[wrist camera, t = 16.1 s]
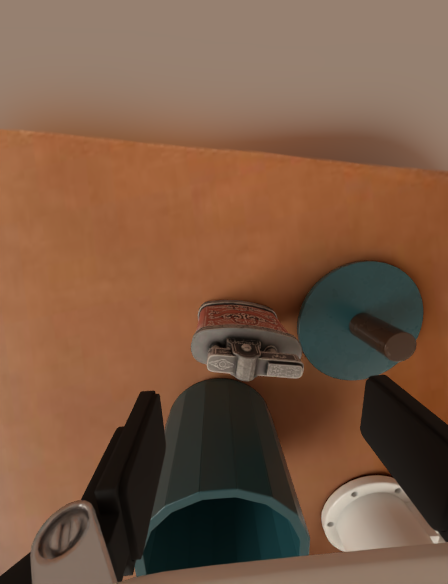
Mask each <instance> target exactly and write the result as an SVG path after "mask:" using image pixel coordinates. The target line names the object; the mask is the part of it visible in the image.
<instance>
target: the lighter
mask: <svg viewBox="0 0 448 584" xmlns="http://www.w3.org/2000/svg"><path fill="white" fill-rule="evenodd" d="M191 352H192V354H193V357H194V358H195V359H196V360H197V361H199V362H201V363H203V364H207V368H208V370H209V371H211V372H219V373H230V374H231V375H232V376H234V377H235V378H236V379H238V380H241V381H252V380H253V379H254V378H255V377H257V376H270V377H283V378H299V377H301V376H302V374H303V371H304V365H303V363H302V362H301V360H300V359H301V356H302V348H301V344H300V343H299V342H298V341H297V339H296V338H295V337H294V336H293V335H291V334H289V333H288V332H287V331H286V329H285V328H284V327H283V326H282V324H281V323H280V322H279V320H278V318H277V315H276V314H275V312H274V311H273V310H272V309H271V308H269V307H266V306H263V305H259V304H256V303H251V302H245V301H239V300H218V301H208V302H205V303H204V304H202V305H201V307H200V308H199V312H198V326H197V331H196V332H195V334H194V335H193V339H192V343H191Z"/></svg>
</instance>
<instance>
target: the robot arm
mask: <svg viewBox="0 0 448 584" xmlns="http://www.w3.org/2000/svg"><path fill="white" fill-rule="evenodd" d="M360 430H361V434H362V436H363V437H364V439H365V440H366V441H367V443H368V444H369V445H370V447H371V448H372V449H373V451H374V452H375V454H376V455H377V456H378V458H379V459H380V460H381V462H382V463H383V464H384V466H385V467H386V468H387V470H388V471H389V472H390V474H391V475H392V476H393V478H392V477H388V476H381V475H372V476H365V477H360V478H357V479H354V480H352V481H349V482H348V483H346V484H344V485H342V486H341V487H340V488H338V489H337V490H336V491H335V492H334V493H333V494H332V495H331V496H330V497H329V498H328V500H327V502H326V503H325V505H324V508H323V510H322V516H321V521H322V526H323V529H324V532H325V534H326V537H327V538H328V540H329V542H330V543H331V544H332V545H333V546H335V547H336V548H338V549H339V550H341V551H343V552H338V553H328V554H318V555H307V556H297V557H287V558H278V559H268V560H259V561H249V562H240V563H230V564H220V565H212V566H204V567H196V568H188V569H180V570H173V571H165V572H159V573H154V574H149V575H144V576H139V577H134V578H131V579H128V580H125V581H122V579H123V576H128V575H133V572H134V567H135V563H136V560H141V558H142V556H143V552H144V547H145V543H146V538H147V534H148V529H149V525H150V520H151V516H152V511H153V506H154V502H155V497H156V493H157V488H158V484H159V479H160V475H161V470H162V466H163V461H164V457H165V452H166V440H165V432H164V425H163V417H162V409H161V402H160V395H159V394H155V391H142V392H140V394H139V396H138V398H137V401H136V403H135V405H134V407H133V409H132V411H131V413H130V416H129V418H128V420H127V422H126V424H125V426H124V427H118V428H117V429H116V431H115V433H114V435H113V437H112V439H111V441H110V443H109V445H108V447H107V449H106V451H105V453H104V455H103V457H102V459H101V461H100V463H99V465H98V467H97V469H96V471H95V473H94V475H93V477H92V479H91V481H90V483H89V485H88V487H87V489H86V491H85V493H84V495H83V497H82V499H81V500H78V501H74V502H71V503H69V504H67V505H65V506H63V507H61V508H60V509H59V510H57V511H56V512H55V513H54V514H52V515H51V516H50V517H49V518H48V520H47V521H46V522H45V523H44V524H43V525H42V527H41V528H40V530H39V531H38V533H37V534H36V536H35V539H34V541H33V544H32V546H31V552H30V553H29V554H27V555H26V556H25V557H24V558H22V559H21V560H20V561H19V562H17V563H16V564H15V565H14V566H12V567H11V568H10V569H9V570H7V571H6V572H5V573H4V574H2V575H1V576H0V584H448V425H447V424H446V423H445V422H443V421H442V420H441V419H440V418H438V417H437V416H436V415H435V414H433V413H432V412H431V411H430V410H428V409H427V408H426V407H425V406H423V405H422V404H421V403H420V402H418V401H417V400H416V399H415V398H413V397H412V396H411V395H410V394H409V393H407V392H406V391H405V390H404V389H402V388H401V387H400V386H399V385H397V384H396V383H395V382H394V381H392V380H391V379H390V378H389V377H387V376H386V375H374V376H370V377H369V379H368V380H366V385H365V393H364V401H363V409H362V417H361V426H360Z"/></svg>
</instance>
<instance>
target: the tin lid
mask: <svg viewBox="0 0 448 584" xmlns="http://www.w3.org/2000/svg"><path fill="white" fill-rule="evenodd" d="M422 321H423V303H422V298H421V295H420V292H419V290H418V288H417V286H416V284H415V283H414V282H413V280H412V279H411V278H410V277H409V276H408V275H407V274H406V273H405V272H403V271H402V270H400V269H399V268H397V267H395V266H393V265H390V264H386V263H383V262H376V261H358V262H353V263H349V264H346V265H343V266H340V267H338V268H336V269H334V270H332V271H331V272H329V273H328V274H326V275H325V276H324V277H322V278H321V279H320V280H319V281H318V282H317V283H316V284H315V285H314V286H313V287H312V289H311V290H310V291H309V293H308V294H307V296H306V298H305V299H304V301H303V303H302V306H301V309H300V312H299V316H298V322H297V334H298V340H299V343H300V344H301V348H302V351H303V353H304V354H305V356H306V357H307V359H308V360H309V361H310V362H311V363H312V365H313V366H314V367H316V368H317V369H318V370H319V371H321V372H323V373H324V374H326V375H328V376H331V377H333V378H337V379H342V380H361V379H367V378H369V377H370V376H374V375H379V374H381V373H383V372H385V371H387V370H389V369H390V368H392V367H393V366H394V365H396V364H397V363H398V362H401V361H404V360H406V359H408V358H409V357H411V356H412V354H413V353H414V351H415V349H416V339H417V337H418V335H419V332H420V329H421V326H422Z"/></svg>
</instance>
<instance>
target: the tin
mask: <svg viewBox="0 0 448 584" xmlns="http://www.w3.org/2000/svg"><path fill="white" fill-rule="evenodd" d="M164 432H165V440H166V452H165V457H164V461H163V466H162V470H161V475H160V479H159V484H158V488H157V493H156V497H155V502H154V506H153V511H152V516H151V520H150V525H149V529H148V534H147V538H146V543H145V547H144V552H143V556H142V558H141V560H136V563H135V571H136V576H137V577H139V576H144V575H149V574H154V573H159V572H165V571H173V570H180V569H188V568H196V567H204V566H212V565H220V564H230V563H240V562H249V561H259V560H268V559H278V558H287V557H297V556H307V555H309V547H310V536H309V533H308V530H307V526H306V523H305V520H304V517H303V514H302V511H301V508H300V505H299V501H298V498H297V495H296V492H295V489H294V486H293V483H292V479H291V476H290V473H289V470H288V467H287V464H286V461H285V458H284V454H283V451H282V448H281V445H280V442H279V439H278V436H277V432H276V429H275V426H274V423H273V420H272V417H271V414H270V412H269V410H268V407H267V405H266V403H265V401H264V399H263V398H262V397H261V396H260V394H259V393H258V392H257V391H255V390H254V389H253V388H251V387H250V386H248V385H246V384H244V383H242V382H239V381H236V380H232V379H224V378H217V379H209V380H205V381H202V382H199V383H197V384H195V385H193V386H191V387H189V388H188V389H186V390H185V391H184V392H183V393H182V394H181V395H180V396H179V397H178V398H177V399H176V401H175V402H174V404H173V406H172V408H171V410H170V414H169V417H168V420H167V423H166V426H165V430H164Z"/></svg>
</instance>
